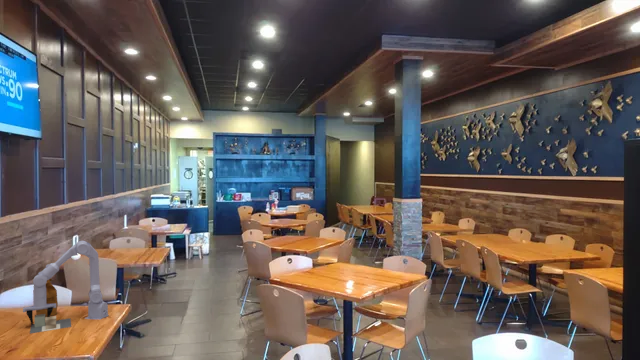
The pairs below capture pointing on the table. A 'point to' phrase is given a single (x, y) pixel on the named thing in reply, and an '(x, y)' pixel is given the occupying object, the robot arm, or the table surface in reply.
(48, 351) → the table surface
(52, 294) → the coffee package
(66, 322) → the board
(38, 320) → the sage block
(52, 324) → the walnut block
